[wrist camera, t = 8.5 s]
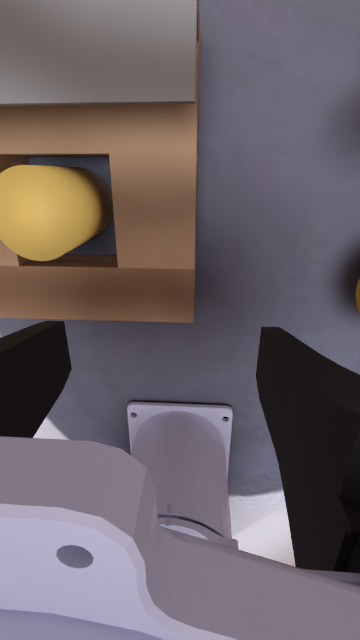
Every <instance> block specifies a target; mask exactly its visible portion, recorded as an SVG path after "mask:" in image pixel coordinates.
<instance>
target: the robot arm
mask: <svg viewBox="0 0 360 640" xmlns="http://www.w3.org/2000/svg"><path fill="white" fill-rule="evenodd" d="M71 369H72V368H71V362H70V356H69V350H68V343H67V337H66V331H65V324H64V321H45V322H41V323H38V324H35V325H32V326H30V327H27V328H24V329H22V330H19V331H17V332H14V333H12V334H9V335H7V336H4V337H2V338H0V640H360V375H359V374H357V373H355V372H353V371H350V370H348V369H346V368H344V367H342V366H340V365H338V364H337V363H335V362H333V361H331V360H330V359H328V358H326V357H324V356H323V355H321V354H319V353H318V352H316V351H315V350H313V349H312V348H310V347H309V346H307V345H306V344H304V343H303V342H301V341H300V340H298V339H297V338H295V337H294V336H292V335H291V334H289V333H288V332H286V331H285V330H283V329H281V328H279V327H261V336H260V344H259V353H258V362H257V371H256V379H257V386H258V392H259V399H260V402H261V405H262V409H263V412H264V415H265V419H266V422H267V425H268V429H269V432H270V435H271V438H272V442H273V445H274V448H275V451H276V455H277V459H278V463H279V469H280V474H281V479H282V485H283V490H284V496H285V502H286V507H287V513H288V519H289V525H290V532H291V538H292V545H293V551H294V558H295V565H296V567H294V566H290V565H287V564H284V563H281V562H277V561H274V560H271V559H267V558H264V557H261V556H258V555H254V554H251V553H248V552H244V551H241V550H238V541H237V540H235V539H232V536H231V523H230V509H229V496H228V483H227V478H228V466H229V453H230V441H231V429H232V417H233V412H232V408H231V407H229V406H225V405H201V404H177V403H153V402H131V403H129V404H128V407H127V414H128V427H129V439H130V451H131V456H130V455H129V454H128V453H126V452H125V451H124V450H122V449H121V448H117V447H113V446H109V445H105V444H101V443H97V442H93V441H79V440H59V439H39V438H33V436H34V435H35V433H36V432H37V430H38V429H39V427H40V425H41V424H42V422H43V421H44V419H45V418H46V416H47V414H48V413H49V411H50V410H51V408H52V406H53V405H54V403H55V402H56V400H57V398H58V397H59V395H60V393H61V392H62V390H63V388H64V386H65V383H66V381H67V379H68V376H69V374H70V371H71ZM133 412H134V413H136V414H133ZM225 416H226V417H228V418H223V417H225Z"/></svg>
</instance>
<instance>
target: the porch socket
mask: <svg viewBox="0 0 360 640" xmlns="http://www.w3.org/2000/svg"><path fill="white" fill-rule="evenodd" d="M199 65H200V20H199V0H0V173H2V172H3V171H4V170H6V169H8V168H10V167H13V166H17V165H28V163H27V157H109V160H110V173H111V186H112V198H113V211H114V224H115V236H116V249H117V255H70V254H63V255H62V256H60V257H58V258H56V259H53V260H49V261H35V260H30V259H27V258H24V257H22V256H20V255H18V254H16V253H15V252H13V251H12V250H11V249H9V248H8V247H7V246H6V245H5V244H4V243H3V242H2V241H1V239H0V318H31V319H68V320H105V321H142V322H178V323H194V309H195V271H196V219H197V168H198V116H199Z"/></svg>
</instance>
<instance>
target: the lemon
mask: <svg viewBox="0 0 360 640" xmlns="http://www.w3.org/2000/svg"><path fill="white" fill-rule="evenodd" d="M356 306H357V309H358V311H359V314H360V279H359V281H358V284H357V289H356Z"/></svg>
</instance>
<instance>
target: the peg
mask: <svg viewBox="0 0 360 640" xmlns="http://www.w3.org/2000/svg"><path fill="white" fill-rule="evenodd" d="M112 214H113V200H112V196H111V193H110V190H109V188H108V187H107V185H106V184H105V182H104V181H103V180H102V179H101V178H100V177H99V176H98V175H97V174H95V173H94V172H92V171H90V170H88V169H85V168H80V167H60V166H39V165H17V166H13V167H10V168H8V169H6V170H4V171H3V172H2V173H0V239H1V241H2V242H3V243H4V244H5V245H6V246H7V247H8V248H9V249H11V250H12V251H13V252H15V253H16V254H18V255H20V256H22V257H24V258H27V259H30V260H35V261H49V260H53V259H56V258H58V257H60V256H62V255H63V254H65V253H67V252H69V251H70V250H72V249H74V248H76V247H77V246H79V245H81V244H82V243H84V242H86V241H88V240H89V239H91V238H93V237H94V236H96V235H98V234H100V233H101V232H102V231H104V230H105V229H106V227H107V226H108V225H109V223H110V221H111V218H112Z"/></svg>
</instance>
